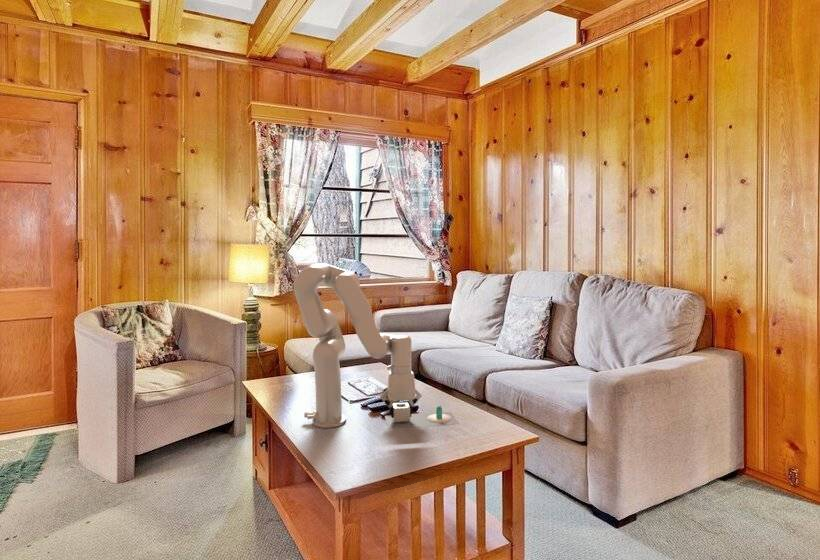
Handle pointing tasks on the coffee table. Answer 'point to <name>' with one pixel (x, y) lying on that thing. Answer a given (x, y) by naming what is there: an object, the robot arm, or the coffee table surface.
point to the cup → (387, 397)
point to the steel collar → (401, 412)
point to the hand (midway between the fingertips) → (401, 415)
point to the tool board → (424, 420)
